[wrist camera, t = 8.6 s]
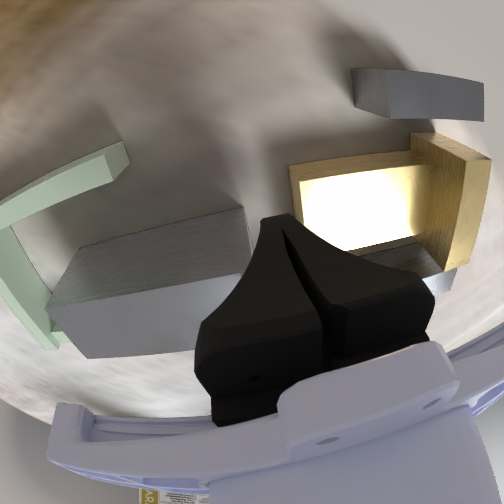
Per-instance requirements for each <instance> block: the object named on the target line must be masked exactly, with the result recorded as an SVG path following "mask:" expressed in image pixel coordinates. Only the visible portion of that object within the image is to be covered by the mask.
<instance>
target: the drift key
mask: <svg viewBox="0 0 504 504" xmlns="http://www.w3.org/2000/svg"><path fill="white" fill-rule="evenodd" d="M491 162H492V160H491V159H490V158H488V157H486V156H484V155H482V154H480V153H479V152H477V151H475V150H473V149H471V148H469V147H467V146H465V145H463V144H461V143H459V142H457V141H454V140H452V139H450V138H448V137H446V136H443V135H441V134H439V133H436V132H428V133H410V150H407V151H395V152H385V153H375V154H366V155H357V156H349V157H342V158H334V159H327V160H321V161H314V162H308V163H302V164H296V165H290V166H288V167H289V174H290V182H291V189H292V197H293V205H294V213H295V218H296V219H297V220H298V221H299V222H301V223H302V224H303V225H304V226H306V227H307V228H308V229H310V230H311V231H312V232H314V233H315V234H317V235H318V236H319V237H321V238H323V239H324V240H326V241H327V242H329V243H331V244H333V245H334V246H336V247H338V248H340V249H342V250H344V251H346V250H351V249H355V248H360V247H364V246H369V245H373V244H377V243H382V242H386V241H390V240H395V239H399V238H403V237H408V236H413V237H414V238H415V239H416V240H417V241H418V242H419V243H420V245H421V246H422V247H423V248H424V249H425V250H426V251H427V252H428V254H429V255H430V256H431V257H432V258H433V259H434V261H435V262H436V263H437V264H438V265H439V266H440V268H441V269H442V270H443V271H444V272H445V271H448V270H451V269H454V268H457V267H460V266H463V265H465V264H468V263H469V260H470V257H471V254H472V251H473V248H474V244H475V241H476V237H477V233H478V230H479V226H480V222H481V218H482V213H483V209H484V204H485V199H486V194H487V189H488V183H489V177H490V170H491Z"/></svg>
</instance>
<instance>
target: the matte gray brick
mask: <svg viewBox="0 0 504 504" xmlns="http://www.w3.org/2000/svg"><path fill="white" fill-rule="evenodd" d="M253 252H254V250H253V246H252V242H251V237H250V233H249V228H248V224H247V219H246V215H245V210H244V207H243V208H238V209H233V210H229V211H224V212H220V213H215V214H211V215H206V216H202V217H198V218H193V219H189V220H185V221H181V222H177V223H172V224H168V225H164V226H160V227H156V228H152V229H148V230H145V231H141V232H137V233H133V234H129V235H125V236H122V237H118V238H114V239H111V240H107V241H104V242H100V243H96V244H93V245H89V246H86V247H83V248H79V250H78V251H77V253H76V254H75V256H74V257H73V259H72V261H71V262H70V264H69V266H68V267H67V269H66V271H65V272H64V274H63V276H62V277H61V279H60V281H59V283H58V284H57V286H56V288H55V290H54V291H53V293H52V295H51V297H50V299H49V301H48V303H47V305H46V306H45V308H44V309H45V310H46V311H47V313H48V314H49V315H50V317H51V318H52V319H53V320H54V322H55V323H56V324H57V325H58V327H59V328H60V329H61V330H62V331H63V332H64V334H65V335H66V336H67V337H68V338H69V339H70V341H71V342H72V343H73V344H74V345H75V346H76V347H77V348H78V350H79V351H80V352H81V353H82V354H83V355H84V356H85V357H86V358H87V359H95V358H114V357H129V356H141V355H152V354H162V353H171V352H180V351H188V350H195V346H196V341H197V336H198V332H199V328H200V325H201V322H202V321H203V320H204V319H206V318H207V317H208V316H209V315H210V314H211V313H212V312H213V311H214V310H215V309H216V308H217V307H219V306H220V304H221V303H222V302H223V301H224V300H225V299H226V297H227V296H228V295H229V294H230V293H231V291H232V290H233V289H234V287H235V286H236V285H237V283H238V282H239V280H240V278H241V277H242V275H243V274H244V272H245V270H246V268H247V266H248V264H249V262H250V260H251V258H252V255H253Z"/></svg>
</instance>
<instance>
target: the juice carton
mask: <svg viewBox="0 0 504 504" xmlns="http://www.w3.org/2000/svg"><path fill="white" fill-rule="evenodd" d="M139 489H140V488H139ZM139 504H210V499H209V495H200V494H182V493H171V492H161V491H154V490H147V489H140V490H139Z"/></svg>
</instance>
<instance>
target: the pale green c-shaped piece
mask: <svg viewBox="0 0 504 504" xmlns="http://www.w3.org/2000/svg"><path fill="white" fill-rule="evenodd" d="M129 164H130V161H129V158H128V155H127V152H126V149H125V146H124V143H123V141H120V142H118V143H115V144H113V145H110V146H108V147H105V148H103V149H100V150H98V151H95V152H93V153H91V154H88V155H86V156H84V157H81V158H79V159H77V160H75V161H73V162H70V163H68V164H66V165H64V166H62V167H60V168H58V169H56V170H54V171H52V172H50V173H48V174H46V175H44V176H42V177H40V178H38V179H37V180H35V181H33V182H31V183H29V184H27V185H26V186H24V187H22V188H20V189H19V190H17V191H15V192H14V193H12V194H10V195H9V196H7V197H5V198H4V199H2V200H1V201H0V296H1V297H2V299H3V300H4V301H5V303H6V304H7V305H8V307H9V308H10V309H11V311H12V312H13V313H14V314H15V316H16V317H17V318H18V319H19V321H20V322H21V323H22V324H23V325H24V327H25V328H26V329H27V330H28V331H29V333H30V334H31V335H32V336H33V337H34V338H35V339H36V340H37V342H38V343H39V344H40V345H41V346H42V347H43V348H44V349H45V350H58V348H59V346H60V343H72V342H71V341H70V339H69V338H68V337H67V336H66V335H65V334H64V332H63V331H62V330H61V329H60V328H59V327H58V325H57V324H56V323H55V322H54V320H53V319H52V318H51V317H50V315H49V314H48V313H47V311H46V310H45V309H44V308H45V306H46V305H47V303H48V301H49V299H50V297H51V295H52V294H51V293H50V291H49V290H48V288H47V287H46V285H45V284H44V282H43V281H42V279H41V278H40V276H39V275H38V273H37V272H36V270H35V269H34V267H33V265H32V264H31V262H30V260H29V259H28V257H27V255H26V254H25V252H24V250H23V248H22V247H21V245H20V243H19V241H18V240H17V238H16V236H15V234H14V232H13V230H12V228H11V226H10V225H11V224H13V223H15V222H17V221H19V220H21V219H23V218H25V217H27V216H30V215H32V214H34V213H36V212H38V211H40V210H42V209H45V208H47V207H49V206H51V205H54V204H56V203H58V202H61V201H63V200H65V199H68V198H70V197H73V196H75V195H78V194H80V193H83V192H85V191H88V190H91V189H93V188H96V187H99V186H101V185H104V184H107V183H110V182H112V181H114V180H115V179H116V178H117V177H118V176H119V175H120V173H121V172H122V171H123V170H124V169H125V168H126V167H127V166H128V165H129Z"/></svg>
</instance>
